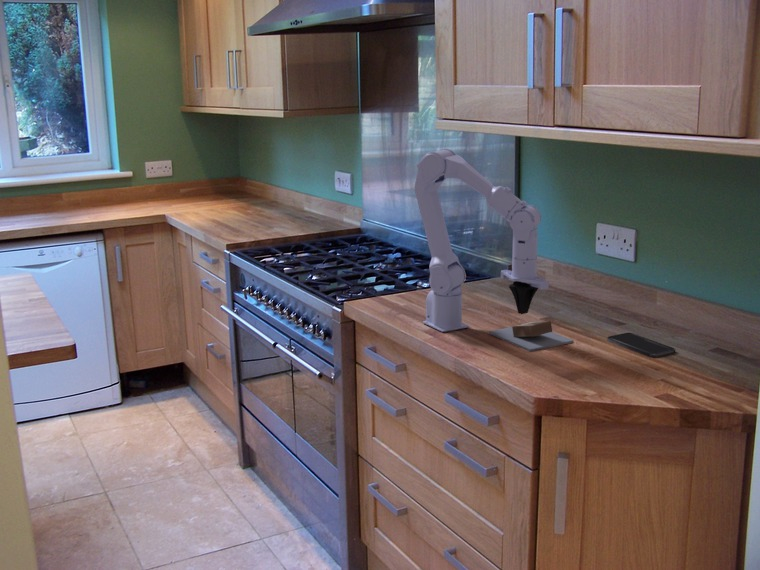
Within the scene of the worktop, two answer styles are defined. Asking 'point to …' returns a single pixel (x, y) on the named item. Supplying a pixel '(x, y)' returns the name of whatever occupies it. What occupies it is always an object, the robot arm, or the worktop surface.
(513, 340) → the rubber mat
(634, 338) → the phone
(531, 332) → the brown wooden block
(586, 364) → the worktop surface
